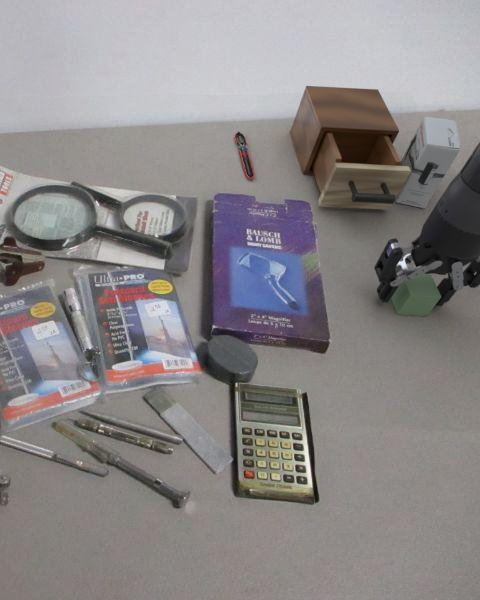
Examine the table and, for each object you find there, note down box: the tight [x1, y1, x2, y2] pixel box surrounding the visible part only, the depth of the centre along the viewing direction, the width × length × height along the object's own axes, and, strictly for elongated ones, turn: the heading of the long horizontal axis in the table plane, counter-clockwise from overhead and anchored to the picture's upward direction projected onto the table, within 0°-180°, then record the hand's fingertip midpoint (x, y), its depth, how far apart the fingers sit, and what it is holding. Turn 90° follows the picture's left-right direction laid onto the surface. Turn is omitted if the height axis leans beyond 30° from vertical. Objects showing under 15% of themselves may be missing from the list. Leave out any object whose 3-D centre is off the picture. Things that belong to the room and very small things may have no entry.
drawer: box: [311, 131, 411, 210], centre depth 96 cm, size 16×11×8 cm
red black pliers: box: [234, 131, 256, 180], centre depth 106 cm, size 2×14×1 cm, turn 179°
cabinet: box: [289, 85, 400, 176], centre depth 104 cm, size 13×13×10 cm
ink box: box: [394, 115, 461, 209], centre depth 97 cm, size 8×5×12 cm, turn 162°
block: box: [390, 274, 441, 317], centre depth 83 cm, size 4×4×4 cm
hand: (409, 299), depth 84 cm, fingers open, 7 cm apart
